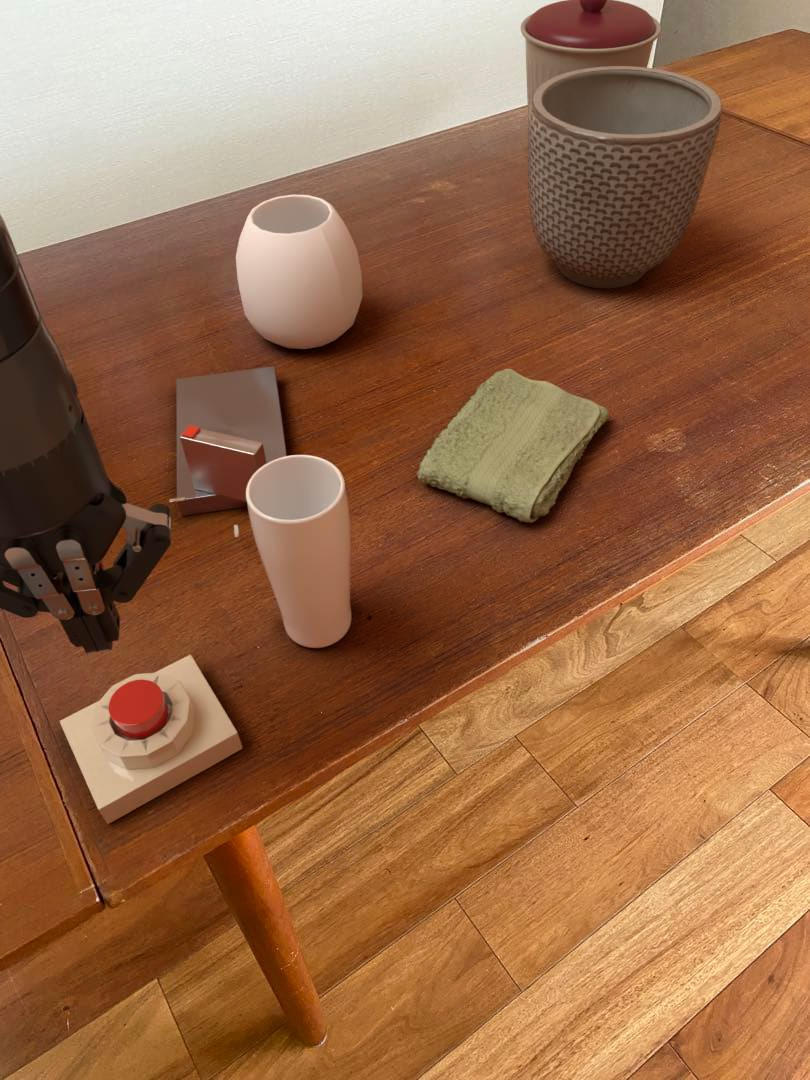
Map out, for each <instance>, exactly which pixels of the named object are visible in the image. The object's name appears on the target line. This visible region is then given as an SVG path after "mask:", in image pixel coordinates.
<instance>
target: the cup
mask: <svg viewBox="0 0 810 1080" xmlns="http://www.w3.org/2000/svg"><path fill="white" fill-rule="evenodd" d="M235 265H236V267H235V268H236V278H237V284H238V289H239V295H240V299H241V305H242V308H243V312H244V316H245V318H246V319H247V320H248V322H249V323H250V325H251V327H252V328H253V330H255V331H256V333H258V334H259V335H260V336H261V337H262V338H263V339H265V340H266V341H269V342H270V343H273V344H275V345H278V346H281V347H284V348H286V349H296V350H307V349H315V348H321V347H323V346H326V345H327V344H330V343H332V342H334V341H336V340H337V339H339V338H340V337H341V336H342V335H343V334H344V333H346V332H347V331H348V330H349V329H350V328H351V327H353V325H354V323H355V321H356V317H357V315H358V312H359V310H360V306H361V303H362V300H363V296H364V295H363V294H364V293H363V275H362V269H361V264H360V259H359V253H358V250H357V247H356V245H355V242H354V239H353V237H352V235H351V233H350V231H349V229H348V227H347V225H346V223H345V221H344V219H342V217H341V216H340V215H339V213H338V212H337V210H336V209H335V207H334V206H333V204H331V203H329V202H328V201H327V200H325V199H324V198H321V197H317V196H312V195H310V194H288V195H280V196H275V197H272V198H269V199H267V200H264V201H262V202H260V203H259V204H258V205H256V206H254V207H252V209H251V210H250V212H249V214H248V215H247V217H246V220H245V222H244V225H243V227H242V230H241V232H240V235H239V237H238V242H237V248H236V253H235Z"/></svg>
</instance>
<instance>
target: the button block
mask: <svg viewBox="0 0 810 1080" xmlns="http://www.w3.org/2000/svg"><path fill="white" fill-rule="evenodd" d="M134 680H149V681H152V682H154V683H156V684H157V685H158V686H159V687H160V688H161V690H162V693H163V695H164V697H165V699H166V702H167V704H168V707H169V714H168V718H167V720H166V722H165V724H164V725H163V726H162V727H161V729H159V730H158V731H157V732H156V733H154V734H153V735H150V736H148V737H145V738H140V739H132V738H128V737H125V736H124V735H122V734H121V733H120V732H119V731H118V729H117V728H116V726H115V724H114V722H113V720H112V718H111V716H110V714H109V702H110V699H111V697H112V695H113V694H114V693H115V692H116V690H117V689H119V688H120V687H121V686H122V685H124V684H126V683H128V682H131V681H134ZM59 724H60V726H61V728H62V730H63V733H64V735H65V737H66V740H67V742H68V744H69V746H70V749H71V751H72V754H73V755H74V758H75V760H76V762H77V765H78V767H79V769H80V772H81V774H82V776H83V779H84V781H85V783H86V786H87V787H88V790H89V792H90V794H91V796H92V799H93V802H94V803H95V806H96V808H97V810H98V812H99V813H100V815H101V816H102V818H103V820H104V821H105V822H106V825H109V824H111V823H113V822H115V821H117V820H119V819H120V818H121V817H124V816H125V815H127V814H129V813H131V812H133V811H135V810H137V808H140V807H141V806H144V805H145V804H147V803H148V802H150V801H152V800H154V799H156V798H157V797H159V796H161V795H163V794H165V793H166V792H168V791H170V790H171V789H174V788H175V787H177V786H179V785H180V784H182V783H184V782H186V781H188V780H190V779H191V778H193V777H195V776H197V775H198V774H200V773H202V772H204V771H205V770H207V769H209V768H211V767H213V766H214V765H216V764H217V763H219V762H221V761H223V760H225V759H227V758H228V757H230V756H232V755H234V754H236V753H238V752H239V751H241V750H243V744H242V741H241V739H240V735H239V733H238V731H237V729H236V727H235V726H234V724H233V722H232V720H231V719H230V717H229V716H228V713H227V712H226V711H225V709H224V707H223V706H222V704H221V702H220V701H219V699H218V697H217V695H216V694H215V692H214V690H213V689H212V687H211V686H210V684H209V682H208V681H207V679H206V677H205V676H204V674H203V672H202V671H201V669H200V667H199V666H198V664H197V662H196V660H195V659H194V657H193V655H192V654H187V655H186V656H184V657H182V658H180V659H178V660H177V661H175V662H172V663H170V664H169V665H167V666H164V667H162V668H161V669H159V670H156V671H155V672H149V673H148V672H145V673H136V674H135V673H134V674H132V675H131V676H129V677H126V678H124V679H123V680H121V681H118V682H117V683H115V684H112V685H111V686H110V687H109V689H108V690H107V691H106V692H105V693H104V695H103V696H102V697H101V698H100V699H99V700H97V701H96V702H94V703H92V704H90V705H88V706H86V707H84V708H82V709H80V710H77V711H76V712H74V713H72V714H70V715H68V716H66V717H64V718H63V719H61V720H59Z"/></svg>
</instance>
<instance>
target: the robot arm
mask: <svg viewBox="0 0 810 1080" xmlns="http://www.w3.org/2000/svg"><path fill="white" fill-rule="evenodd" d="M122 528H123V529H124V530H125V532H126V533H125V542H126V543H125V544H124V546H123V547H122V548H121V550H120V552H119V553H118V555H117V556H116V557H115V559H114V561H113V563H112V566H111V567H108V568H106V569H105V566H104V563H103V559H104V558H105V557H106V555H107V553H108V551H109V549H110V548H111V546H112V545H113V543H114V541H115V540H116V538H117V536H118V534H119V532H120V531H121V529H122ZM171 545H172V510H171V508H170V507H169V506H168V505H166V504H164V503H154V504H153V505H151V506H150V507H149V508H148V509H146V508H143V507H140V506H137V505H134V504H131V503H128V499H127V496H126V493H125V492H124V491H123V489H121V488H120V487H119V486H118V485H116V484H115V483H114V482H113V481H112V480H111V479H110V478H109V476H108V473H107V470H106V468H105V464H104V462H103V460H102V457H101V454H100V452H99V449H98V447H97V443H96V441H95V439H94V436H93V433H92V430H91V427H90V425H89V423H88V419H87V418H86V414H85V412H84V409H83V406H82V404H81V400H80V398H79V390H78V388H77V385H76V381H75V379H74V377H73V374H72V372H70V370H69V369H68V367H67V363H66V361H65V359H64V356H63V354H62V352H61V350H60V348H59V346H58V345H57V342H56V340H55V338H54V337H53V335H52V334H51V332H50V330H49V328H48V326H47V325H46V323H45V321H44V319H43V317H42V314H41V312H40V310H39V308H38V304H37V302H36V300H35V297H34V294H33V292H32V290H31V287H30V284H29V281H28V278H27V276H26V274H25V270H24V268H23V266H22V263H21V260H20V258H19V255H18V252H17V250H16V247H15V244H14V241H13V238H12V236H11V233H10V232H9V229H8V226H7V224H6V222H5V220H4V217H3V216H2V214H1V213H0V609H1V610H4V611H6V612H8V613H11V614H13V615H16V616H18V617H21V618H24V619H29V618H35V616H37V615H38V613H49V614H51V616H53V618H55V619H57V620H59V622H60V624H61V627H62V628H63V631H64V632H65V635H66V636H67V638H68V640H69V642H70V644H71V645H73V646H75V647H76V648H80V647H82V648H83V650H84V652H85V654H87V655H89V654H94V653H95V654H96V653H99V652H105V651H112V650H113V646H114V645H113V644H114V643H113V642H118V641H119V638H120V628H121V616H120V613H119V611H118V609H117V606H116V604H115V602H116V603H119V604H125V603H126V604H127V603H129V602H131V601H132V600H133V599H134V598H135V596H136V595H137V594H138V592H139V590H140V589H141V588H142V586H143V585H144V584H145V582H146V581H147V579H148V577H149V576H150V575H151V573H152V572H153V571H154V569H155V568H156V567H157V565H158V564H159V562H160V561H161V559H162V557H164V554H166V552H167V551H168V549H169V548H170V546H171ZM4 582H5V583H7V584H9V585H11V586H14V587H16V588H17V590H14V589H12V588H9V587H7V586H6V585H5V584H4Z"/></svg>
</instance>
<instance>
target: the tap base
mask: <svg viewBox="0 0 810 1080" xmlns="http://www.w3.org/2000/svg"><path fill="white" fill-rule="evenodd" d="M175 382H176V383H175V385H176V386H175V387H176V388H175V389H176V392H175V396H176V398H175V399H176V400H175V403H176V405H175V407H176V408H175V410H176V411H175V413H176V415H175V417H176V422H175V423H176V425H175V426H176V427H175V428H176V497H175V498H174V497H173V498H169V499H168V500H169V501H168V502H169V504H173V503H174V504H175V503H177V506H178V510H179V512H180V513H179V514H180V515H181V517H186V516H193V515H201V514H206V513H207V514H208V513H213V512H220V511H227V510H234V509H241V508H246V507H247V508H248V506H247V502H246V501H242V500H238V499H234V498H230V497H226V496H222V495H218V494H214V493H210V492H206V491H202V490H198V489H195V488H194V484H193V481H192V477H191V474H190V470H189V467H188V464H187V460H186V457H185V453H184V450H183V446H182V443H181V440H180V436H181V435H182V434H183V432H184V431H185V430H186V429H187V427H188V426H189V425H192V426H196V427H200V429H205V430H209V431H213V432H218V433H222V434H226V435H231V436H235V437H239V438H244V439H248V440H252V441H257V442H261V443H263V447H264V452H265V457H266V462H267V463H269V462H271V461H273V460H275V459H278V458H281V457H285V456H288V449H287V443H286V442H287V441H286V436H285V435H286V434H285V429H284V421H283V414H282V407H281V399H280V392H279V384H278V379H277V373H276V367H275V365H271V366H264V367H256V368H250V369H242V370H234V371H225V372H220V373H212V374H204V375H197V376H189V377H181V378H176V379H175ZM233 533H234V534H233V535H234V539H238V538H240V530H239V524H234V525H233Z"/></svg>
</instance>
